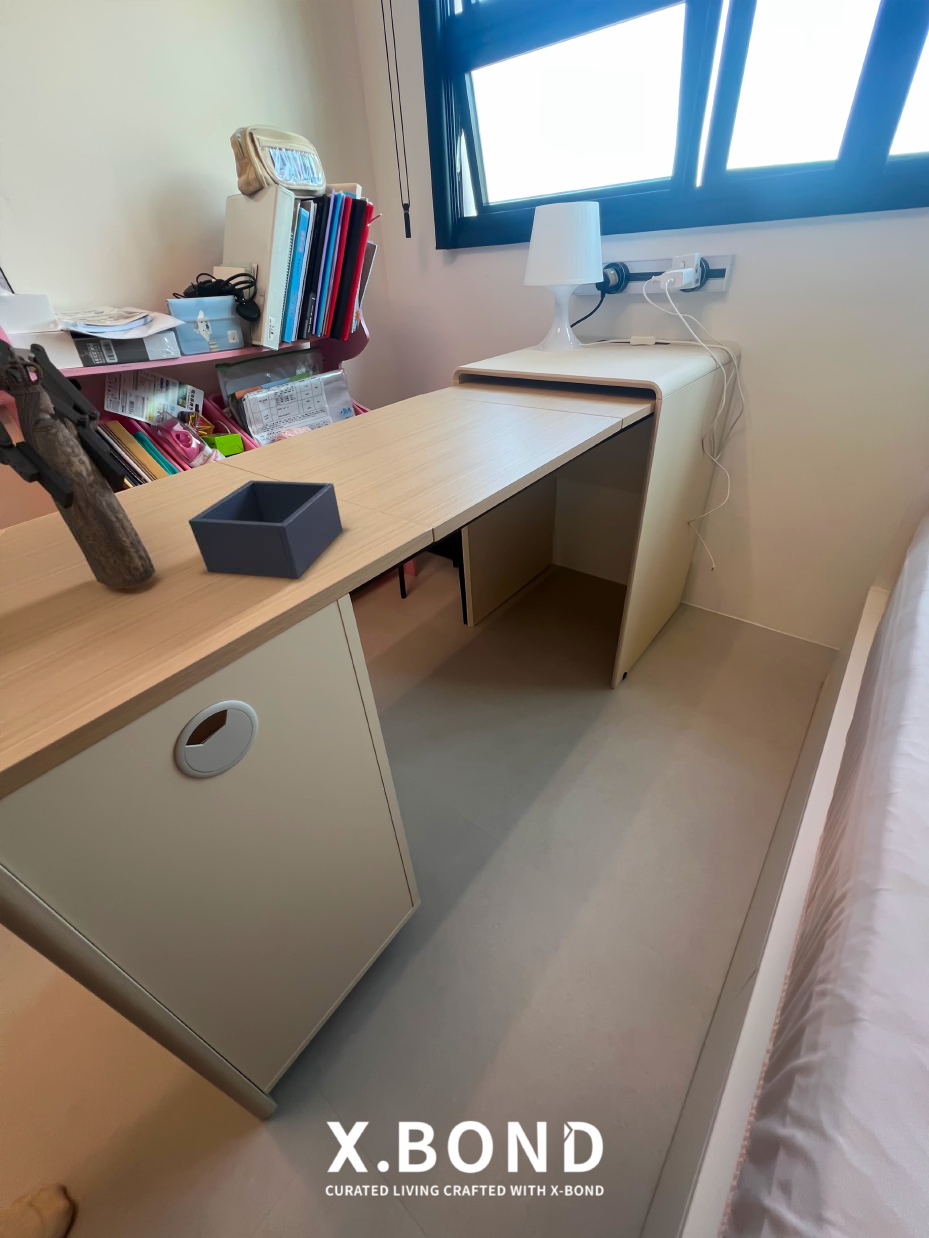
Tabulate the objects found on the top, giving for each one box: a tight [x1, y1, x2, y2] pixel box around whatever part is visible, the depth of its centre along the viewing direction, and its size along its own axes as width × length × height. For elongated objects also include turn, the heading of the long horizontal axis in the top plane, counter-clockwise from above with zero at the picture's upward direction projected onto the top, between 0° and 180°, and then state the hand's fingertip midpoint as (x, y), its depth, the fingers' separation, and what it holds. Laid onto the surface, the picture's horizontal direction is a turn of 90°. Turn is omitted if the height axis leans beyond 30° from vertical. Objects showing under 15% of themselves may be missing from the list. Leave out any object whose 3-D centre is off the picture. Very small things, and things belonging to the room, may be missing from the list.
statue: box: [0, 346, 156, 589], centre depth 54 cm, size 9×8×25 cm
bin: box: [188, 479, 344, 580], centre depth 66 cm, size 13×14×7 cm
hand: (95, 490), depth 54 cm, fingers closed on statue, 5 cm apart
